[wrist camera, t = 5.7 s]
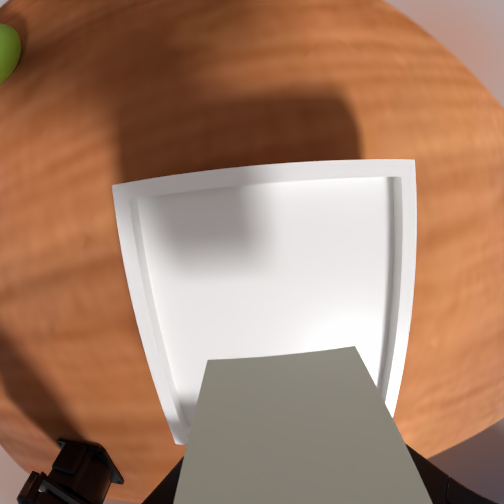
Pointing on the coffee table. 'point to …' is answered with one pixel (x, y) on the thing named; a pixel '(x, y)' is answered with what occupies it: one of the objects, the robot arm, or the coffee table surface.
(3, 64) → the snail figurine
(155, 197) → the tray
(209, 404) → the part block
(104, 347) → the coffee table surface
